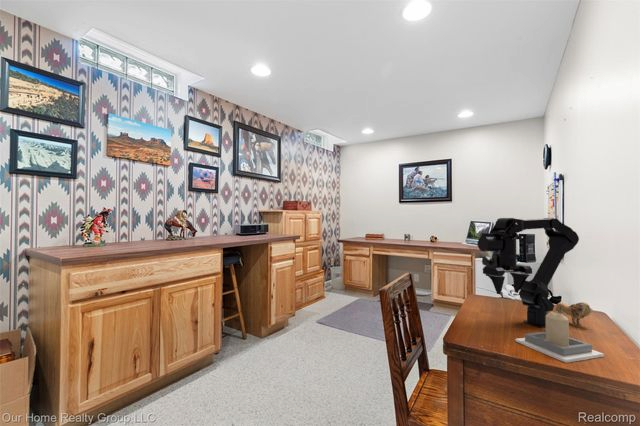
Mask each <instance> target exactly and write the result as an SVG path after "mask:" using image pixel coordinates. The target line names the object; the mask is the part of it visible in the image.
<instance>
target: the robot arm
mask: <svg viewBox="0 0 640 426" xmlns="http://www.w3.org/2000/svg"><path fill="white" fill-rule="evenodd" d="M535 229H536V230H537V229H538V230H539V229H543V230H544V233H545V235H546V236H547V238H548V242H547V243H548V248H549V249H548V250H547V252H546V253H545V256H544V258H543V260H542V261H541V263H540V264H539V267H538V268H537V270H536V272H535V274H534V276H533V278H532V279H531V280H529V281H528V280H527V279H528V277H530V276H531V275H532V274H533V268H532V267H531V266H530V265H524V264H520V263H519V264H517V262H518V261H517V258H520V254H519V253H518V254H517V240H522V238H523V237H522V236H520V235H519V234H518V233H520V232H524V231H526V230H535ZM579 241H580V238H579V235H578V233H577V232H576V231H574V230H573V229H572V228H571V227H570V226H568V225H566V224H564V223H563V222H561V221H560V220H559V219H558V218H555V217H543V218H534V219H533V218H532V219H529V218H528V219H522V218H517V217H500V218H498V219H497V220H496V221H495V223H494V225H493V227H492V228H491V230H490V232H482V233H481V236H479V238H478V241H477V247H478V249H479V250H480V251H481V252H495V254H494V257H490V256H482V257H481V263H482V265H483V267H482V275H483V274H484V275H485V276H486V277H488V278H489V279H490V280H491V282H492V285H493V288H494V289H495V292H496V294H497V295H501V293H502V290H503V287H504V281H505V278H506V277H505V273H509V274H510V275H511V276H512V279H513V290H514V293H518V295H519V297H520V300H521V303H522V305H523V306H527V308H526V320H525V319H523V322H524V323H525V324H528V325H531V326H533V327H534V326H535V327H537V328H546V315H547V314H549V313H550V312H554V307H555V304H553V302H552V301H551V300H550V299H549V296H550V292H549V285H550V283H551V280H552V279H553V276H554V275H555V273H556V271H557V269H558V267H559V265H560V264H561V262H562V260H563V257H564V256H565V254H568V253H569V252H570V251H573V250H574V249H575V247H576V246H577V244H578V243H579ZM496 252H497V253H496Z"/></svg>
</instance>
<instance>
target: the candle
mask: <svg viewBox="0 0 640 426" xmlns="http://www.w3.org/2000/svg"><path fill="white" fill-rule="evenodd" d="M569 321H570V320H569V318H568V317H567V316H565V315H563V313H562V314H561V313H558V311H557V312H555V311H550V312H548V314H547V315H546V327H545V332H546V341H548V342H551V343H553V344H556V345H559V346H561V347H565V346H569V337H570V331H569V330H570V328H569V326H570V322H569Z"/></svg>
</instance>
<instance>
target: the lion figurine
mask: <svg viewBox="0 0 640 426" xmlns="http://www.w3.org/2000/svg"><path fill="white" fill-rule="evenodd" d="M554 312H558V313H561V314H562V315H563V314H565V315H567V316H570V317H571V323H572V326H574V327H577V326H581V325H582V323H580V320H582V319H585V317H588V316H590V315H591V314H592V312H593V308H591V307H590V305H589V304H588V302H585V301H584V302H583V301H581V302H576V303H573V304H571V305H569V304H566V303H564V302H561V301H560V302H558V303H557V305H556V307H555V311H554Z"/></svg>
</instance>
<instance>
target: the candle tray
mask: <svg viewBox="0 0 640 426" xmlns="http://www.w3.org/2000/svg"><path fill="white" fill-rule="evenodd" d="M516 342H517V343H519V344H521V345H523V346H525V347H527V348H529V349H532V350H535V351H537V352H538V353H542V354H544V355H546V356H549V357H551V358H554V359H556V360H559V361H560V362H562V363H565V364H568V363H574V362H579V361H584V360H585V361H586V360H590V359H599V358H603V357H604V353H603V352H600V351H597V350H594V349H593V345H592V344H591V343H588V342H585V341H582V340H579V339H575V338H573V337H570V336H569V346H565V347H561V346H559V345H556V344H553V343H551V342H548V341H546V331H542V332H541V331H540V332H539V331H538V332H532V333H525V334H524V337H520V338H515V343H516Z"/></svg>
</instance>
